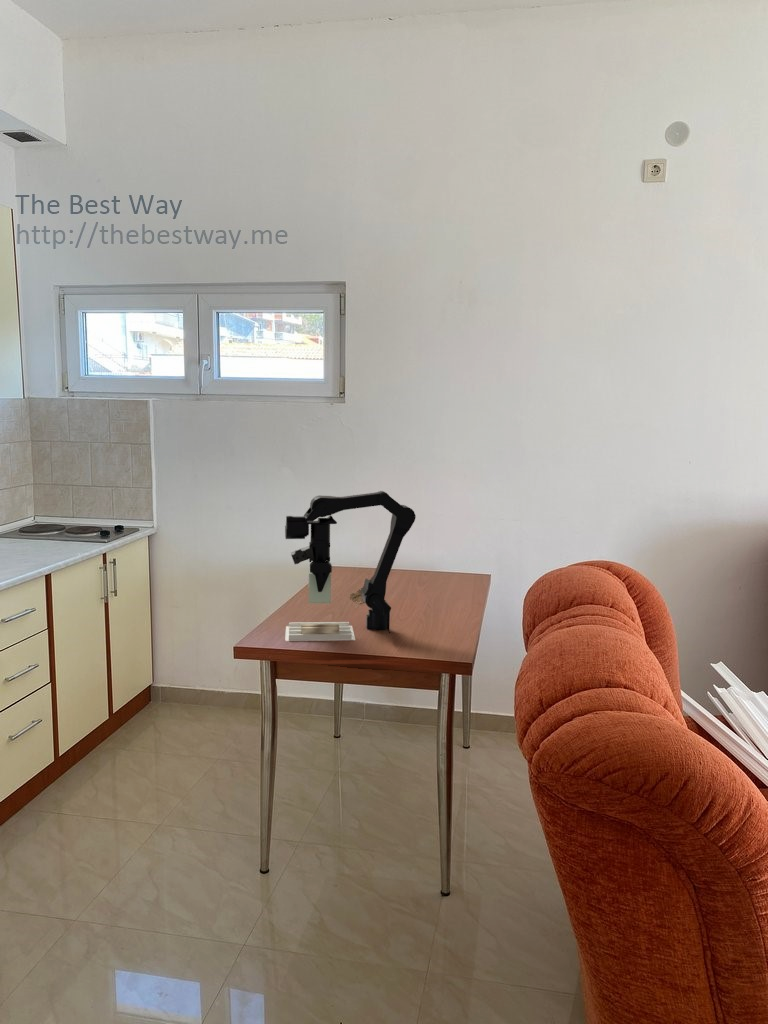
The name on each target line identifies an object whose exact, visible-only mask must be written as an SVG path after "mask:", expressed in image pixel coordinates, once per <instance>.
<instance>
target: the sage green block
mask: <svg viewBox="0 0 768 1024" xmlns="http://www.w3.org/2000/svg"><path fill="white" fill-rule="evenodd" d="M331 600H332V573H330V574H329V576H328V578H327V581H326V583H325V585H324V588H323V590H322V592H318V588H317V583H316V578H315V575H314V574H313V573H310V570H309V571H308V604H331V603H332V601H331Z"/></svg>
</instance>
